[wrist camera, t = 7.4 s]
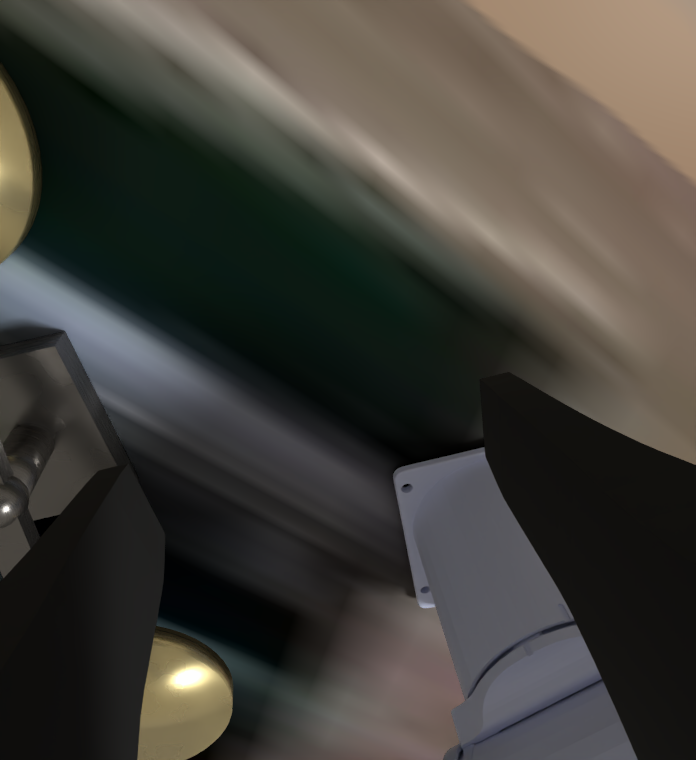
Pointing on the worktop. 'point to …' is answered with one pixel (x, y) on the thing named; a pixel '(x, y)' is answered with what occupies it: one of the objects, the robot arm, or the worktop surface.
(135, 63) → the worktop surface
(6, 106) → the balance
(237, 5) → the worktop surface
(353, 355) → the worktop surface
